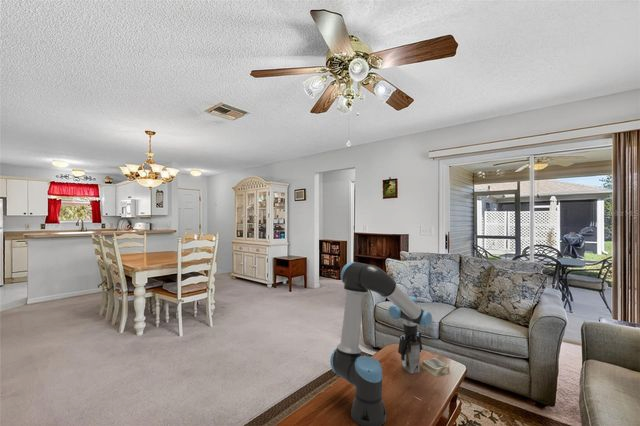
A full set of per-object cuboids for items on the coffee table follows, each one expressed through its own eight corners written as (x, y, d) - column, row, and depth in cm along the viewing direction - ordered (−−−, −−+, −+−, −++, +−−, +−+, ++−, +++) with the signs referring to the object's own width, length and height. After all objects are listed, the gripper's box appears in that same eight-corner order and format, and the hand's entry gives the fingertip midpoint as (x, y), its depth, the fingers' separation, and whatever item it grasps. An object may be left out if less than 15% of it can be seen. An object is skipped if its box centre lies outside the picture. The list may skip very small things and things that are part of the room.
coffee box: (401, 366, 170) (400, 338, 170) (410, 364, 172) (410, 336, 172) (410, 374, 161) (410, 344, 162) (420, 372, 163) (420, 343, 163)
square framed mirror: (435, 376, 158) (435, 368, 159) (422, 368, 168) (422, 360, 168) (449, 373, 162) (449, 365, 163) (435, 364, 172) (435, 357, 172)
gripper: (399, 329, 159) (399, 371, 159) (429, 323, 168) (429, 363, 167) (391, 324, 166) (391, 364, 166) (419, 319, 175) (420, 357, 174)
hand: (410, 364), depth 167 cm, fingers open, 8 cm apart
